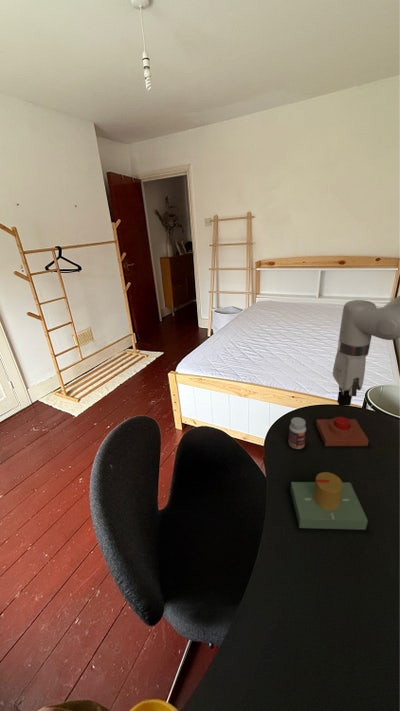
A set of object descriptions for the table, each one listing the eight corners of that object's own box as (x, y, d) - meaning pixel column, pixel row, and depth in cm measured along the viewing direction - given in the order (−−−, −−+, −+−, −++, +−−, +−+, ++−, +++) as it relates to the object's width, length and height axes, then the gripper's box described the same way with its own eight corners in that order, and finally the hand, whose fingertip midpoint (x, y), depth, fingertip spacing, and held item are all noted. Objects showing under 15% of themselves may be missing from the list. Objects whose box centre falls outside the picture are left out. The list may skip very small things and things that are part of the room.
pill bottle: (299, 451, 87) (301, 428, 83) (285, 444, 90) (286, 421, 86) (308, 443, 89) (310, 421, 86) (294, 436, 93) (295, 414, 89)
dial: (335, 489, 71) (338, 471, 68) (343, 510, 65) (347, 491, 63) (310, 489, 71) (312, 470, 69) (317, 510, 66) (319, 491, 64)
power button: (346, 421, 92) (346, 416, 91) (351, 429, 88) (351, 424, 88) (332, 421, 92) (333, 416, 92) (337, 429, 89) (337, 425, 88)
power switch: (354, 424, 96) (356, 414, 94) (367, 446, 87) (369, 435, 85) (315, 424, 97) (316, 414, 95) (325, 446, 88) (326, 435, 86)
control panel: (348, 491, 73) (350, 481, 72) (365, 529, 64) (368, 519, 63) (290, 490, 75) (291, 481, 74) (299, 528, 66) (300, 518, 64)
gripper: (329, 337, 87) (323, 390, 94) (348, 359, 73) (338, 420, 81) (356, 336, 86) (347, 390, 94) (380, 359, 72) (367, 419, 80)
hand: (343, 403), depth 87 cm, fingers closed
